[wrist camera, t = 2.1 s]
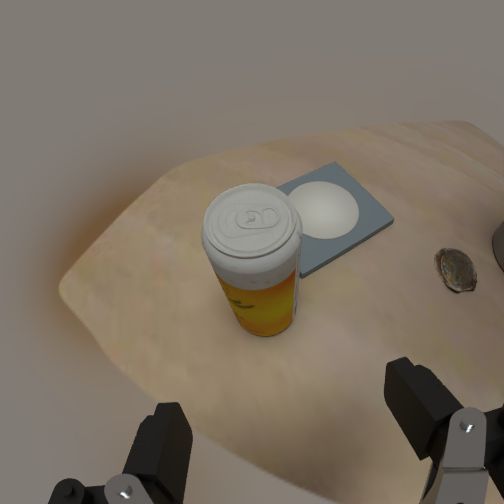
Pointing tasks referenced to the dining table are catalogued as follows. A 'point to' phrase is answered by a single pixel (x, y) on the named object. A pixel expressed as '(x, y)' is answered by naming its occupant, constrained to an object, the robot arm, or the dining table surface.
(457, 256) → the decorative disc
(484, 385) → the dining table surface
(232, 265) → the beer can
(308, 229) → the board
